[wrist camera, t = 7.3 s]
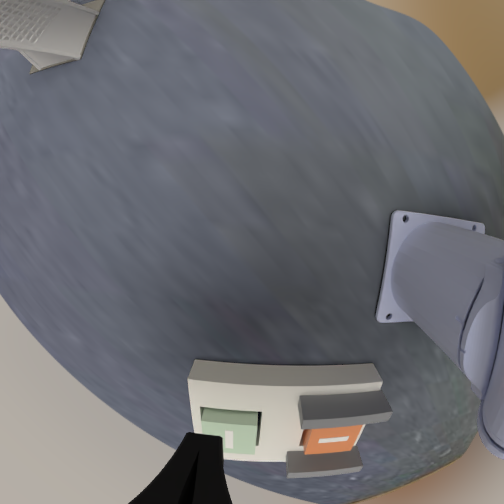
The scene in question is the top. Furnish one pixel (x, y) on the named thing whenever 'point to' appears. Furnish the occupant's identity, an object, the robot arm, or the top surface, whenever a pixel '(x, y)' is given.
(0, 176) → the top surface
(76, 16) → the skyscraper
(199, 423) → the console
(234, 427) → the on button
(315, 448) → the button
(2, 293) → the top surface
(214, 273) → the top surface
